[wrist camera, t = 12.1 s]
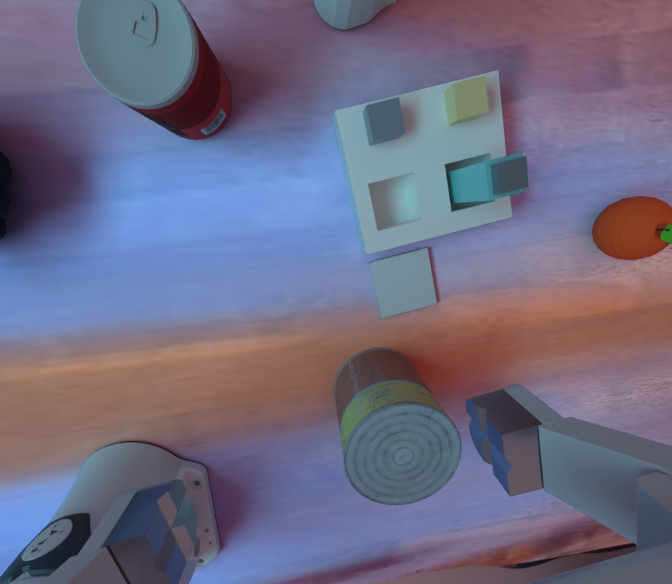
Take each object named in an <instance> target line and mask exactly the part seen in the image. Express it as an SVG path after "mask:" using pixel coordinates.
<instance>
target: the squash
mask: <svg viewBox="0 0 672 584" xmlns="http://www.w3.org/2000/svg"><path fill="white" fill-rule="evenodd" d="M10 176H11V167H10V163H9V161H8V159H7V157H6V156H5V155H4V154H3V153H2V152H0V187H1V186H3V185H4V184H6V183H7V181H8V179H9V178H10ZM10 205H11V204H10V200H9V198H8V197H7V196H6V195H5V194H4V193H3V192H2V191H1V190H0V239H1V238H2V237H3V236H4V235H5V234H6V229H7V225H6V223H5V220H4V219H3V217H2V216H4V215H5V214H6V213H7V212H8V211H9V208H10Z"/></svg>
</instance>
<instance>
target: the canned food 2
mask: <svg viewBox="0 0 672 584" xmlns="http://www.w3.org/2000/svg"><path fill="white" fill-rule="evenodd" d="M334 397H335V401H336V406H337V413H338V420H339V427H340V434H341V441H342V448H343V455H344V468H345V472H346V476H347V478H348V480H349V482H350V483H351V485H352V486H353V487H354V488H355V489H356V490H357V492H359V493H360V494H361V495H363V496H364V497H366V498H368V499H370V500H372V501H374V502H378V503H382V504H388V505H403V504H409V503H414V502H417V501H420V500H422V499H425V498H427V497H429V496H430V495H432V494H434V493H435V492H437V491H438V490H439V489H441V488H442V487H443V486H444V485H445V484H446V483H447V482H448V481H449V479H450V478H451V477H452V475H453V474H454V472H455V470H456V468H457V466H458V464H459V461H460V457H461V439H460V435H459V432H458V430H457V428H456V426H455V425H454V423H453V422H452V421H451V419H450V418H449V417H448V416H447V415H446V413H445V412H444V411H443V409H442V408H441V406H440V405H439V403H438V402H437V400H436V399H435V397H434V396H433V394H432V393H431V392H430V390H429V389H428V387H427V386H426V384H425V383H424V381H423V380H422V378H421V377H420V376H419V374H418V373H417V371H416V369H415V367H414V365H413V364H412V363H411V361H410V360H409V359H408V358H406V357H405V356H404V355H402V354H401V353H399V352H396V351H394V350H390V349H384V348H376V349H369V350H366V351H363V352H360V353H358V354H356V355H355V356H353V357H352V358H350V359H349V360H348V361H347V362H346V363H345V364H344V365H343V366H342V368H341V369H340V371H339V372H338V374H337V376H336V379H335V383H334Z"/></svg>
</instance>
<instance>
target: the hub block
mask: <svg viewBox="0 0 672 584" xmlns="http://www.w3.org/2000/svg"><path fill="white" fill-rule="evenodd" d="M333 126H334V130H335V134H336V139H337V143H338V148H339V152H340V157H341V161H342V166H343V170H344V175H345V179H346V184H347V188H348V192H349V197H350V201H351V206H352V210H353V215H354V219H355V224H356V228H357V233H358V237H359V242H360V246H361V250H362V252H364V253H365V254H367V255H368V254H372V253H376V252H379V251H383V250H387V249H391V248H395V247H399V246H403V245H406V244H410V243H414V242H418V241H422V240H426V239H430V238H434V237H437V236H441V235H445V234H449V233H453V232H457V231H461V230H465V229H468V228H472V227H476V226H480V225H484V224H488V223H492V222H496V221H499V220H503V219H507V218H511V217H512V211H511V201H510V195H509V196H505V197H501V198H497V199H493V200H489V201H476V202H463V203H450V198H449V191H448V184H447V177H446V173H447V172H451V171H454V170H458V169H461V168H464V167H468V166H471V165H474V164H478V163H481V162H484V161H488V160H492V159H496V158H500V157H504V156H506V148H505V138H504V127H503V116H502V106H501V95H500V85H499V74H498V70H497V71H493V72H489V73H485V74H481V75H477V76H473V77H469V78H465V79H461V80H457V81H453V82H449V83H445V84H441V85H436V86H432V87H428V88H424V89H420V90H416V91H412V92H408V93H404V94H400V95H396V96H392V97H388V98H384V99H380V100H376V101H372V102H368V103H364V104H360V105H356V106H352V107H348V108H344V109H340V110H336V111H335V114H334V117H333Z"/></svg>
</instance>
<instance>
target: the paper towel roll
mask: <svg viewBox="0 0 672 584" xmlns="http://www.w3.org/2000/svg"><path fill="white" fill-rule="evenodd" d="M394 3H396V0H314V4H315V8H316V10H317V11H318V13H319V14H320V16H321V17H322V19H323V20H324V21H325V22H326V23H328V24H329V25H331V26H332V27H333V28H337V29H342V30H347V29H350V28H353V27H357V26H359V25H362V24H365V23H367V22H369V21H370V20H371V19H372V18H373V17H374V16H375V15H376V14H377V13H378V12H379V11H380V10H381V9H383V8H385V7H386V6H388V5H390V4H394Z"/></svg>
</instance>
